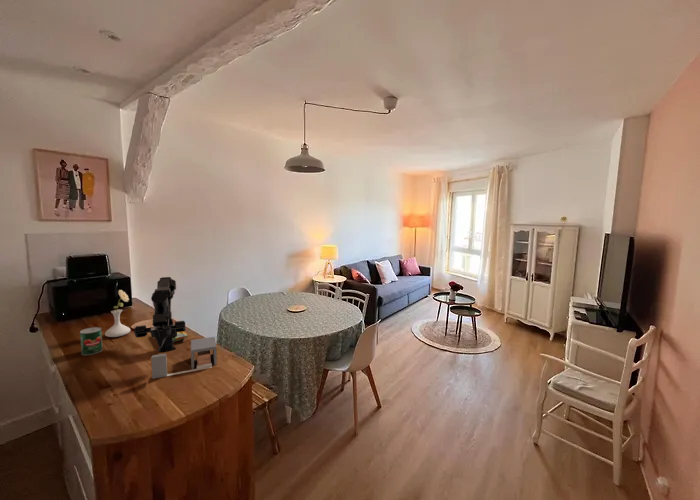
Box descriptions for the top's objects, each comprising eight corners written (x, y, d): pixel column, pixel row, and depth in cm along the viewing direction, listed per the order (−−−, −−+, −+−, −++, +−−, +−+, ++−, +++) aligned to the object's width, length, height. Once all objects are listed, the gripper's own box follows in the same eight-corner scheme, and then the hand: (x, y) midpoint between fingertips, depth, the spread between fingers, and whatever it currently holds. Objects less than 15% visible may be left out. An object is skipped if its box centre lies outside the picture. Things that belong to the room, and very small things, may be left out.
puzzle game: (178, 323, 174) (187, 333, 160) (178, 331, 175) (187, 342, 160) (154, 327, 167) (162, 339, 152) (155, 336, 167) (162, 348, 152)
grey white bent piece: (155, 370, 129) (154, 348, 128) (211, 360, 139) (210, 340, 138) (152, 381, 121) (151, 357, 120) (212, 369, 131) (211, 348, 130)
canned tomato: (90, 356, 141) (88, 333, 140) (76, 354, 143) (75, 332, 142) (106, 349, 149) (105, 327, 148) (94, 347, 151) (92, 326, 149)
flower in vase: (120, 339, 161) (117, 294, 158) (99, 338, 161) (96, 293, 158) (137, 330, 174) (135, 288, 171) (118, 329, 174) (115, 287, 171)
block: (197, 362, 136) (197, 351, 135) (210, 359, 138) (209, 349, 138) (197, 366, 132) (197, 356, 131) (210, 364, 134) (210, 354, 133)
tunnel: (191, 359, 140) (191, 340, 139) (215, 355, 145) (214, 336, 144) (191, 371, 130) (190, 350, 129) (216, 367, 134) (216, 346, 133)
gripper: (133, 308, 125) (129, 343, 117) (184, 303, 134) (184, 335, 125) (137, 320, 133) (134, 354, 124) (185, 315, 142) (185, 346, 133)
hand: (160, 347), depth 127 cm, fingers closed
